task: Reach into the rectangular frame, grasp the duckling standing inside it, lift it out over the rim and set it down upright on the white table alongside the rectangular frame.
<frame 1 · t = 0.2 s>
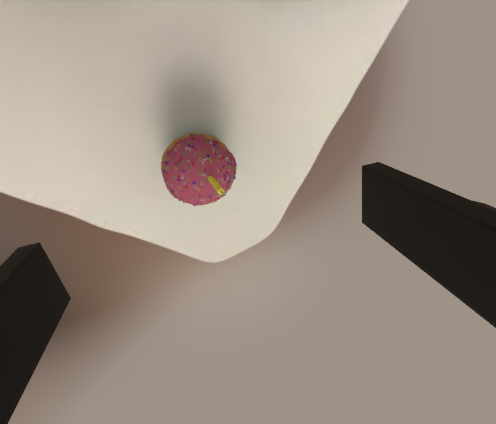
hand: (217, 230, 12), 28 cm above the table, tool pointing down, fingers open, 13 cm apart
cupcake: (197, 161, 39), on the table
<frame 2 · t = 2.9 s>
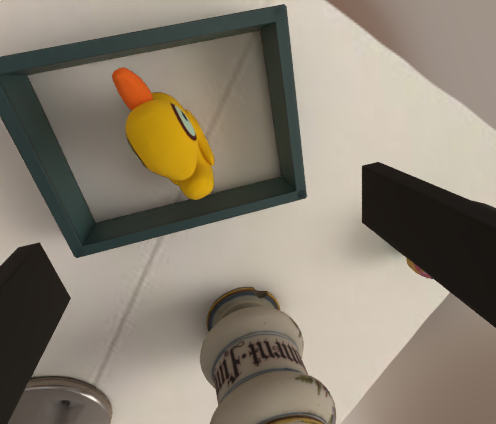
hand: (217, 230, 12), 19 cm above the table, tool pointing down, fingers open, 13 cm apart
apothecary jar: (243, 316, 40), on the table
duckling: (172, 132, 29), resting in rectangular frame
rectangular frame: (172, 133, 29), on the table
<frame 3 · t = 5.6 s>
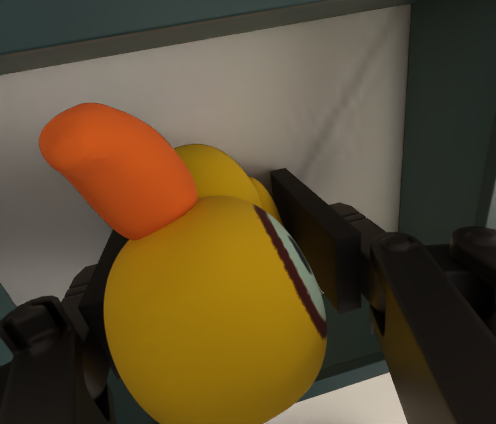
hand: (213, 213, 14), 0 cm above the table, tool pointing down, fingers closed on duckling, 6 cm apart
duckling: (210, 209, 14), resting in rectangular frame, touching gripper
rectangular frame: (211, 210, 14), on the table
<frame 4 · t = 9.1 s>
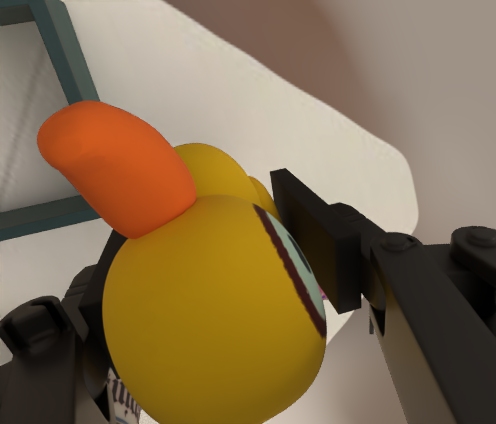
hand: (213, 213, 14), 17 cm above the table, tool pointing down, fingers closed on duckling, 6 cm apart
apothecary jar: (108, 338, 36), on the table
duckling: (210, 208, 14), point 16 cm above the table, touching gripper
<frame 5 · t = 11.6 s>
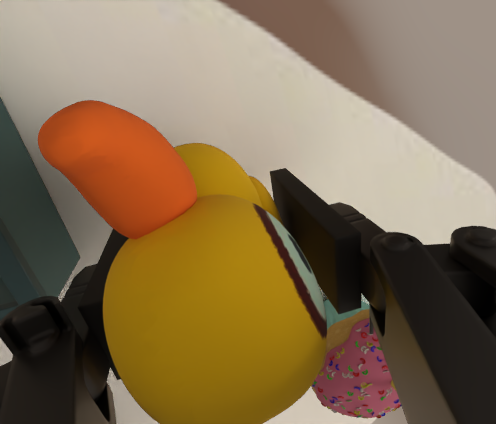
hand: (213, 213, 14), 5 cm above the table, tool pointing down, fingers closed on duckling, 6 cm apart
cupcake: (336, 315, 25), on the table
duckling: (210, 208, 14), point 4 cm above the table, touching gripper
when the fingers open (0 cm above the table, at t = 13.0 s): duckling stays where it is, on the table.
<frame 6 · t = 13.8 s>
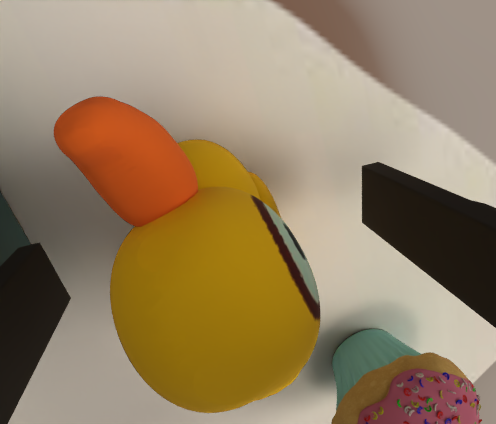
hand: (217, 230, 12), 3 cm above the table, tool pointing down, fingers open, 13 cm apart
cupcake: (362, 351, 22), on the table
duckling: (211, 204, 15), on the table
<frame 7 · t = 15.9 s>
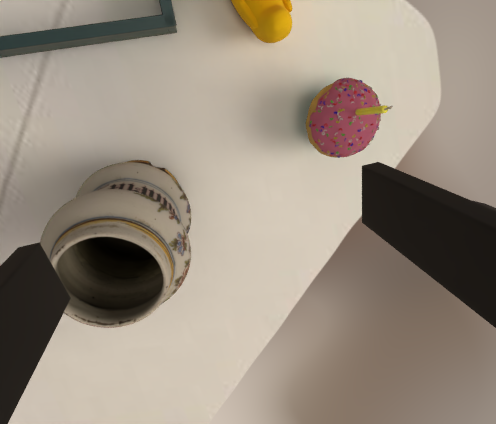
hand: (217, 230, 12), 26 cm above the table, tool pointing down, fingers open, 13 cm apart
cupcake: (326, 115, 38), on the table
apothecary jar: (142, 197, 38), on the table
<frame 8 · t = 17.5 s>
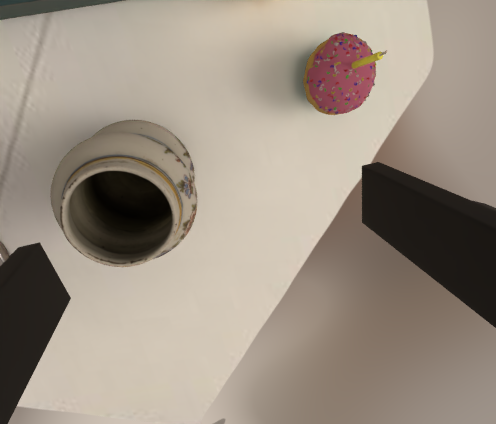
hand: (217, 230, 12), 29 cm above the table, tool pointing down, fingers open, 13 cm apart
cupcake: (323, 77, 39), on the table
apothecary jar: (145, 162, 39), on the table
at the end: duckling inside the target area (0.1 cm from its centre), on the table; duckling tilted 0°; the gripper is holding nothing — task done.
